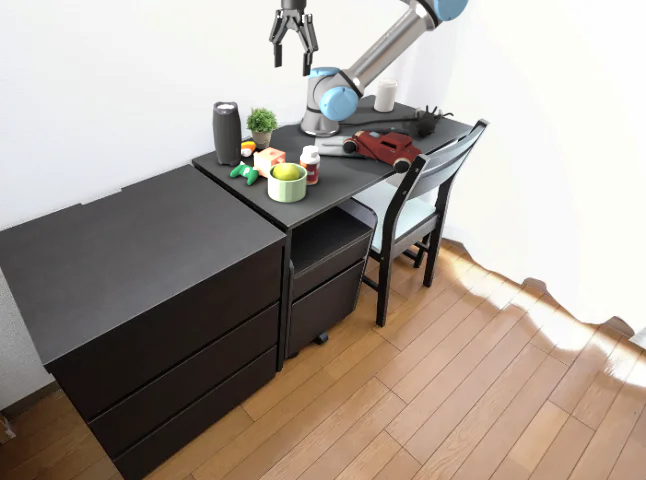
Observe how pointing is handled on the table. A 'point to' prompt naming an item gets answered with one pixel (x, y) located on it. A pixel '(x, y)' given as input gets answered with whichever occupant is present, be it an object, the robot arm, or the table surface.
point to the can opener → (387, 131)
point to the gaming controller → (246, 172)
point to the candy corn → (247, 148)
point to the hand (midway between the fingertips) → (291, 71)
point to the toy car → (384, 148)
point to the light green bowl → (287, 186)
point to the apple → (286, 172)
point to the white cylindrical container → (386, 95)
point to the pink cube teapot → (268, 160)
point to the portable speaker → (227, 132)
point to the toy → (427, 121)
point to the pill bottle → (311, 163)
